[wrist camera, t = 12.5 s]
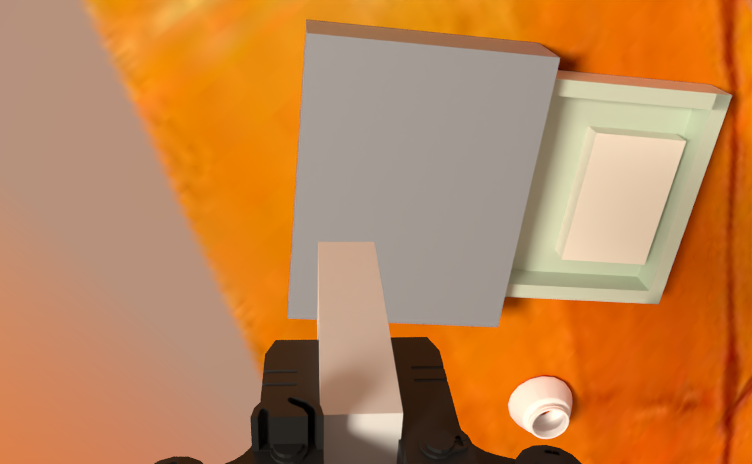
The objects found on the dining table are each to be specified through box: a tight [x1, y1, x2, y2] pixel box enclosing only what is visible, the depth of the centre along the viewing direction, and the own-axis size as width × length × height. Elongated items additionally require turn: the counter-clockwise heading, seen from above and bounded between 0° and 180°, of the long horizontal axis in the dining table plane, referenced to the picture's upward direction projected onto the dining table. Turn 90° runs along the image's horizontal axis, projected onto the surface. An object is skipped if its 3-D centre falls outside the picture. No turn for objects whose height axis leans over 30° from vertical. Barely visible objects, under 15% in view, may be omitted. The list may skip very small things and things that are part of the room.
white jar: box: [508, 376, 573, 439], centre depth 53 cm, size 5×3×5 cm
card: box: [555, 126, 686, 265], centre depth 45 cm, size 9×6×1 cm, turn 173°
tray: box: [505, 70, 732, 304], centre depth 45 cm, size 15×12×2 cm
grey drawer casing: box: [288, 20, 560, 327], centre depth 42 cm, size 18×14×4 cm
